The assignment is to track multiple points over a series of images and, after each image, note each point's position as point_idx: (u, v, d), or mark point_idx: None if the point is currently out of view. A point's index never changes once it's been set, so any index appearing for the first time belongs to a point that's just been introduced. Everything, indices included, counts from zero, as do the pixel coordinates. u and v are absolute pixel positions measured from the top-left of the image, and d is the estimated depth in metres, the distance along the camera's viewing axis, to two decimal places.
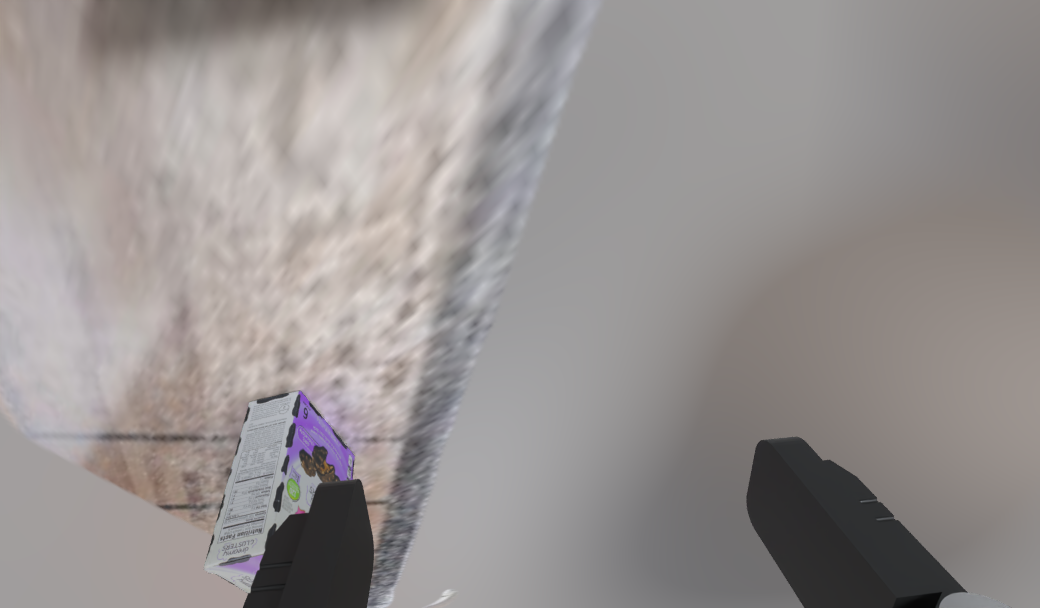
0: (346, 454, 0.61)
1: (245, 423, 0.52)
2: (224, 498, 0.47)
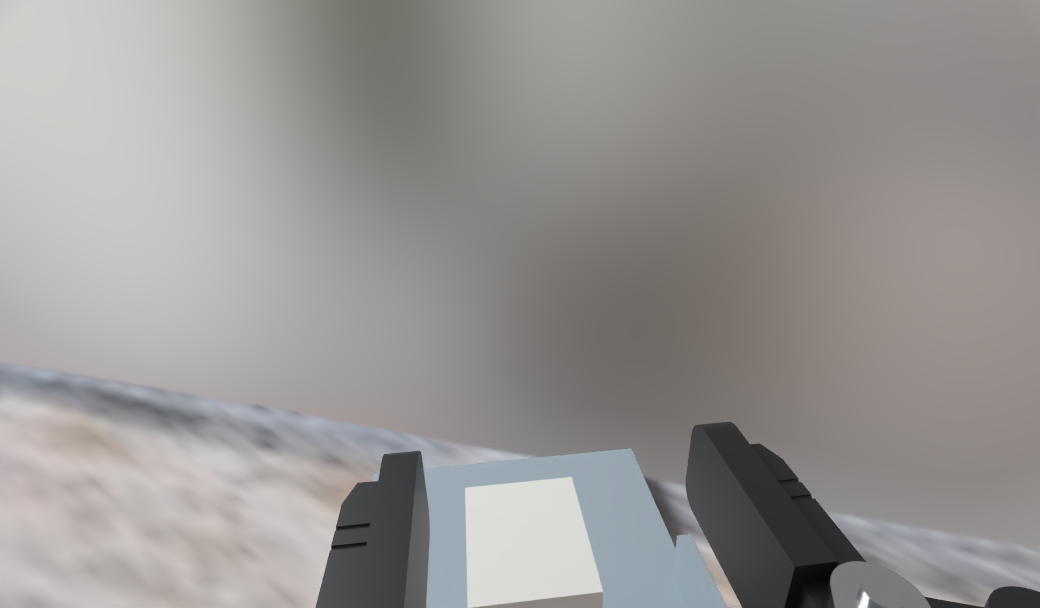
0: None
1: None
2: None
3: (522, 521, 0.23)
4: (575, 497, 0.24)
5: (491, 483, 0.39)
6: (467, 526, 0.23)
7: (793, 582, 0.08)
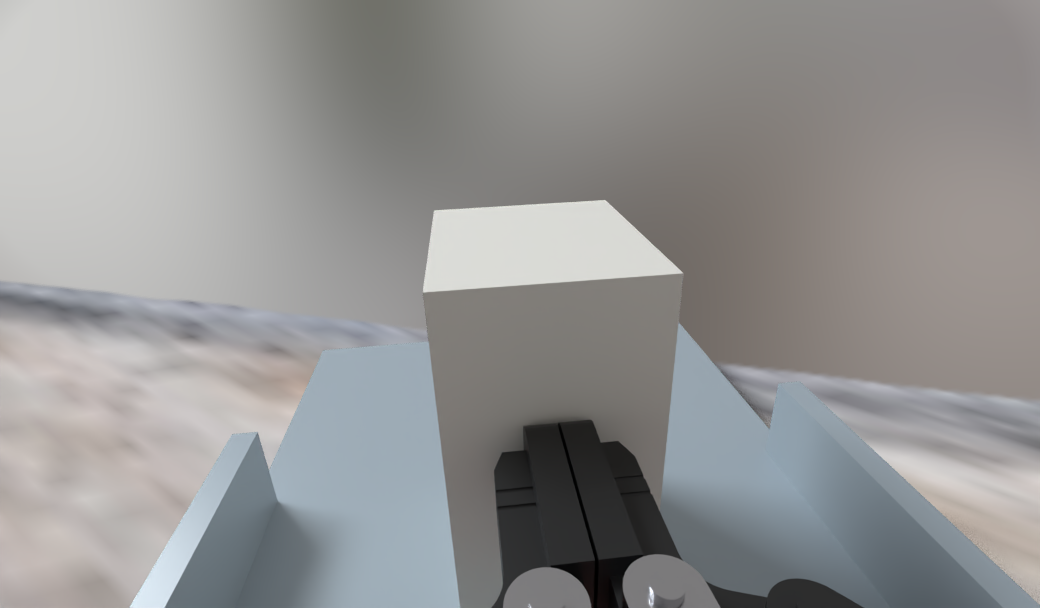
0: None
1: None
2: None
3: (526, 228, 0.14)
4: (614, 211, 0.15)
5: None
6: (433, 233, 0.13)
7: (602, 575, 0.08)
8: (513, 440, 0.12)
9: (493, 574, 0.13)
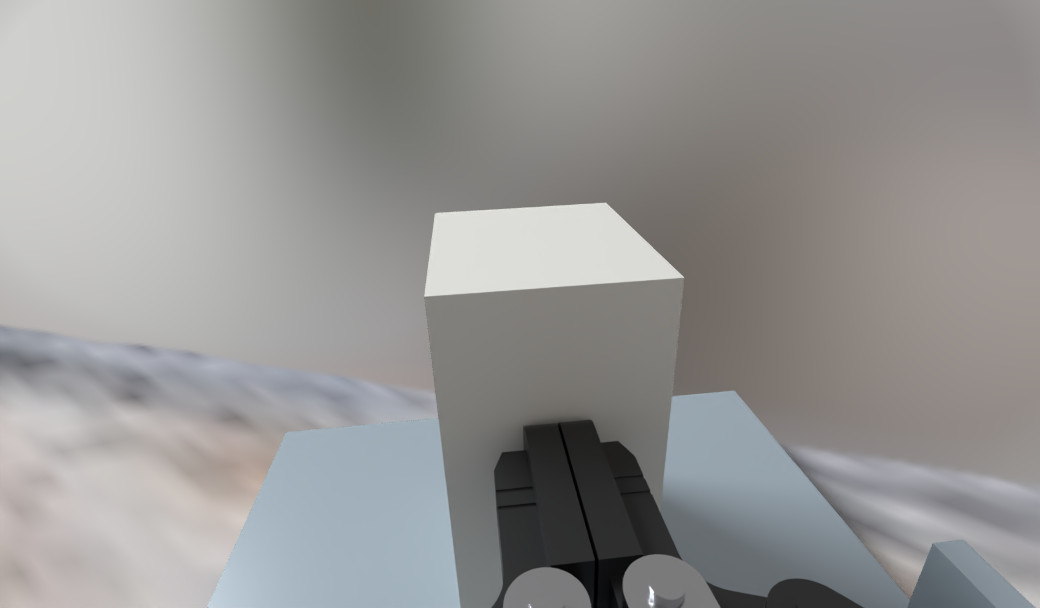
0: None
1: None
2: None
3: (527, 231, 0.14)
4: (614, 214, 0.15)
5: None
6: (434, 236, 0.13)
7: (602, 575, 0.08)
8: (514, 443, 0.12)
9: (494, 576, 0.13)
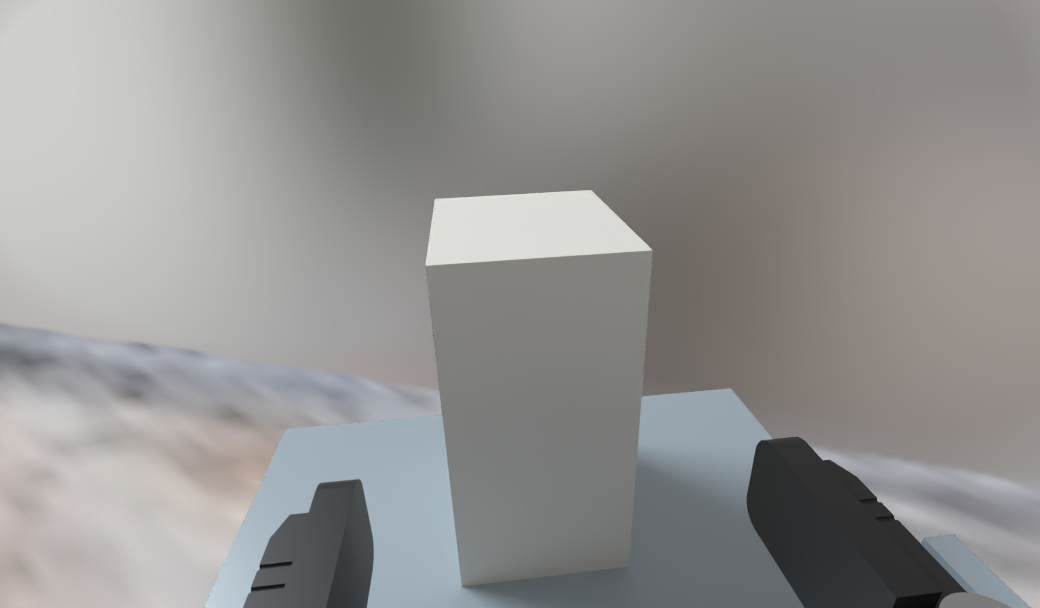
0: None
1: None
2: None
3: (518, 213, 0.15)
4: (597, 200, 0.16)
5: None
6: (434, 218, 0.15)
7: None
8: (504, 399, 0.13)
9: (488, 523, 0.15)
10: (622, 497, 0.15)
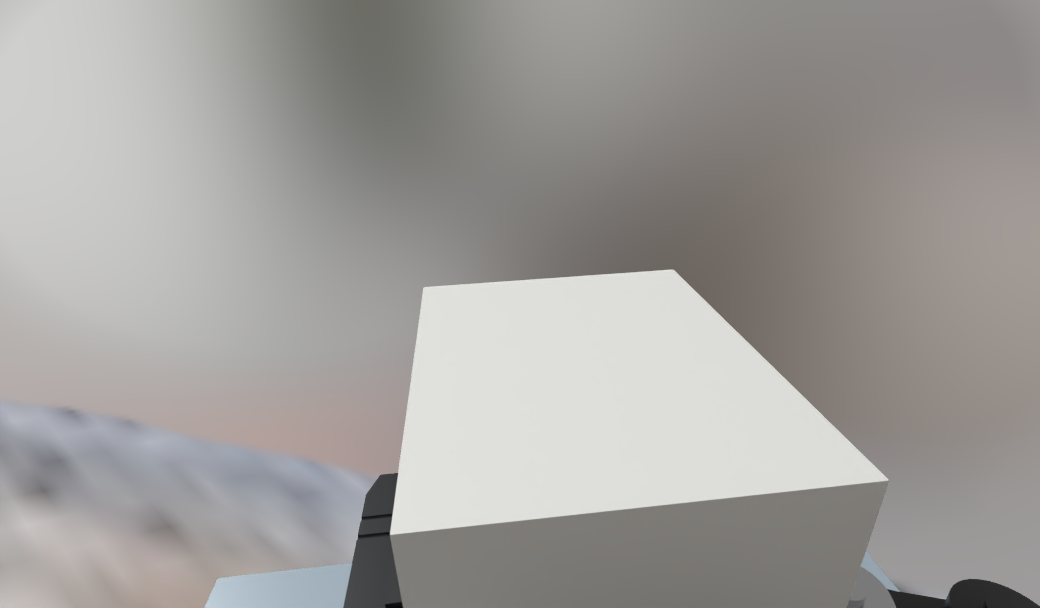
0: None
1: None
2: None
3: (567, 332, 0.09)
4: (694, 295, 0.10)
5: None
6: (420, 343, 0.08)
7: None
8: None
9: None
10: None
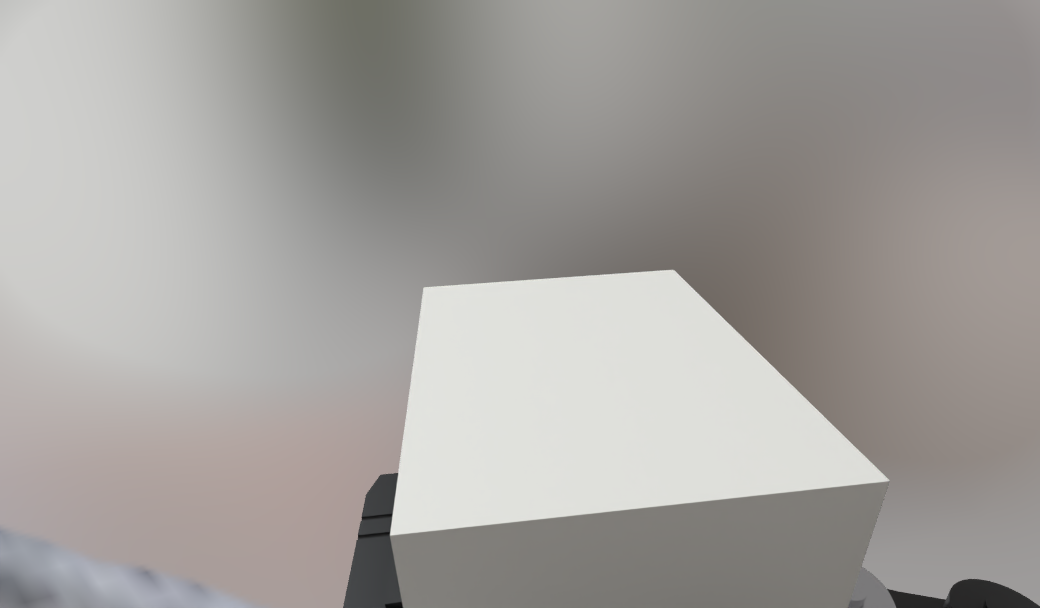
0: None
1: None
2: None
3: (567, 332, 0.09)
4: (695, 296, 0.10)
5: None
6: (420, 343, 0.08)
7: None
8: None
9: None
10: None
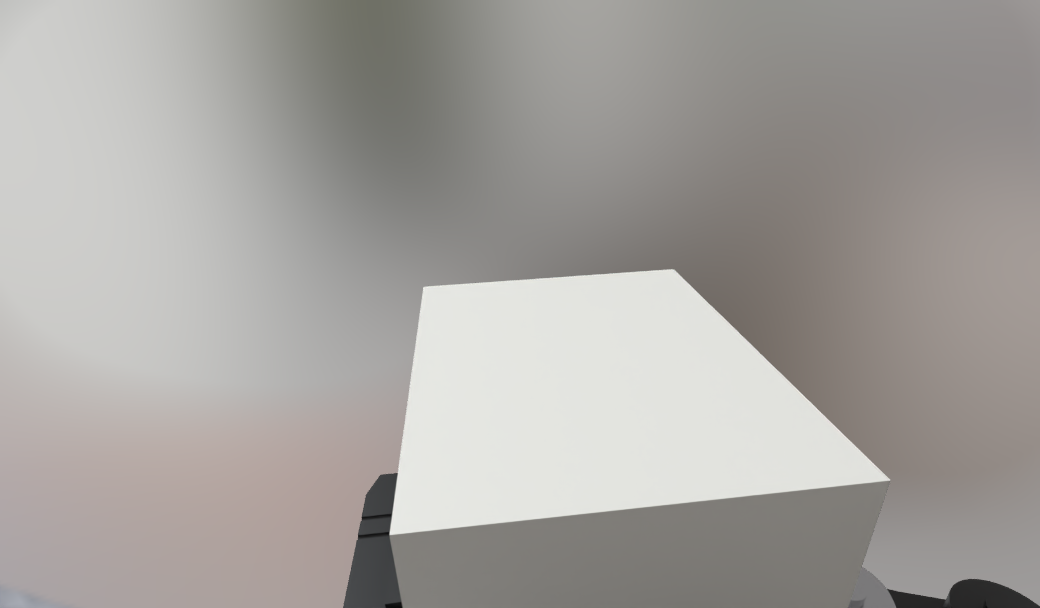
0: None
1: None
2: None
3: (567, 332, 0.09)
4: (695, 295, 0.10)
5: None
6: (420, 343, 0.08)
7: None
8: None
9: None
10: None
